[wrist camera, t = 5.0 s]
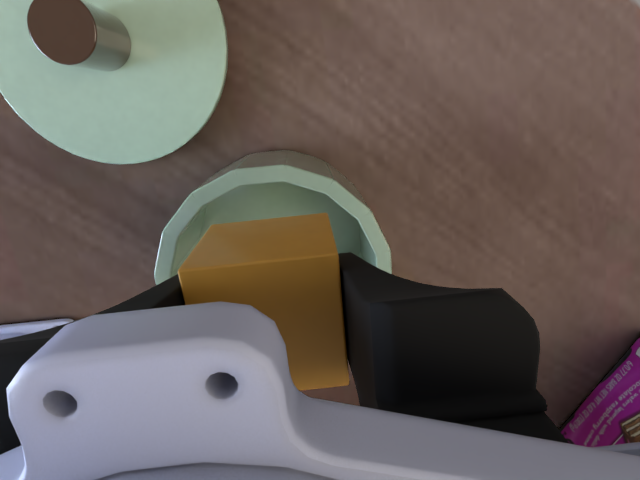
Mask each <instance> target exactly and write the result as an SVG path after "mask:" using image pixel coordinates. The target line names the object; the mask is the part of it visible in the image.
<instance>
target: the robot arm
mask: <svg viewBox="0 0 640 480" xmlns="http://www.w3.org/2000/svg"><path fill="white" fill-rule="evenodd" d="M338 255H339V267H340V279H341V290H342V302H343V314H344V325H345V337H346V348H347V358H348V361H349V365H350V368H351V371H352V375H353V378H354V381H355V385H356V389H357V393H358V397H359V403H360V406H356V405H351V404H345V403H339V402H334V401H328V400H323V399H317V398H311V397H308V396H306V395H305V394H303V393H302V392H300V391H299V390H298V389H297V388H296V386H295V385H294V383H293V381H292V378H291V375H290V371H289V365H288V358H287V351H286V345H285V342H284V340H283V338H282V336H281V334H280V332H279V330H278V328H277V326H276V323H275V321H273V320H272V319H270V318H269V317H267V316H266V315H264V314H263V313H261V312H260V311H259V310H257V309H256V308H254V307H253V306H251V305H246V304H238V303H230V302H222V301H219V302H210V303H201V304H191V305H185V301H184V297H183V293H182V288H181V284H180V280H179V275H178V274H177V275H175V276H173V277H171V278H169V279H167V280H165V281H164V282H162V283H160V284H158V285H156V286H154V287H152V288H151V289H149V290H147V291H145V292H143V293H141V294H139V295H137V296H135V297H133V298H131V299H129V300H127V301H125V302H123V303H120V304H118V305H116V306H114V307H111V308H109V309H106V310H104V311H101V312H99V313H96V314H94V315H91V316H88V317H85V318H82V319H79V320H76V321H74V320H72V319H68V318H66V319H56V320H46V321H36V322H27V323H17V324H7V325H0V480H640V442H635V443H627V444H618V445H609V446H601V447H592V448H591V447H585V446H580V445H574V444H569V442H568V441H567V440H566V439H565V437H564V436H563V435H562V434H561V432H560V431H559V430H558V429H557V427H556V426H555V425H554V424H553V422H552V421H551V420H550V419H549V417H548V416H547V415H546V414H545V412H544V411H547V403H546V400H545V399H544V398H543V397H542V395H541V394H540V393H539V392H538V391H537V390H536V383H537V373H538V363H539V353H540V339H539V332H538V329H537V326H536V324H535V321H534V319H533V318H532V317H531V316H530V315H529V313H528V312H527V311H526V310H525V309H524V308H523V307H522V306H521V305H520V304H519V303H518V302H517V301H516V300H514V299H513V298H512V297H511V296H510V295H509V294H508V293H507V292H506V291H504V290H503V289H502V288H489V289H461V288H447V287H439V286H433V285H427V284H422V283H418V282H413V281H410V280H407V279H404V278H400V277H397V276H395V275H392V274H390V273H388V272H386V271H383V270H381V269H379V268H377V267H375V266H373V265H372V264H370V263H368V262H366V261H365V260H363V259H361V258H360V257H358V256H357V255H355V254H353V253H351V252H348V253H339V254H338Z"/></svg>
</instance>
